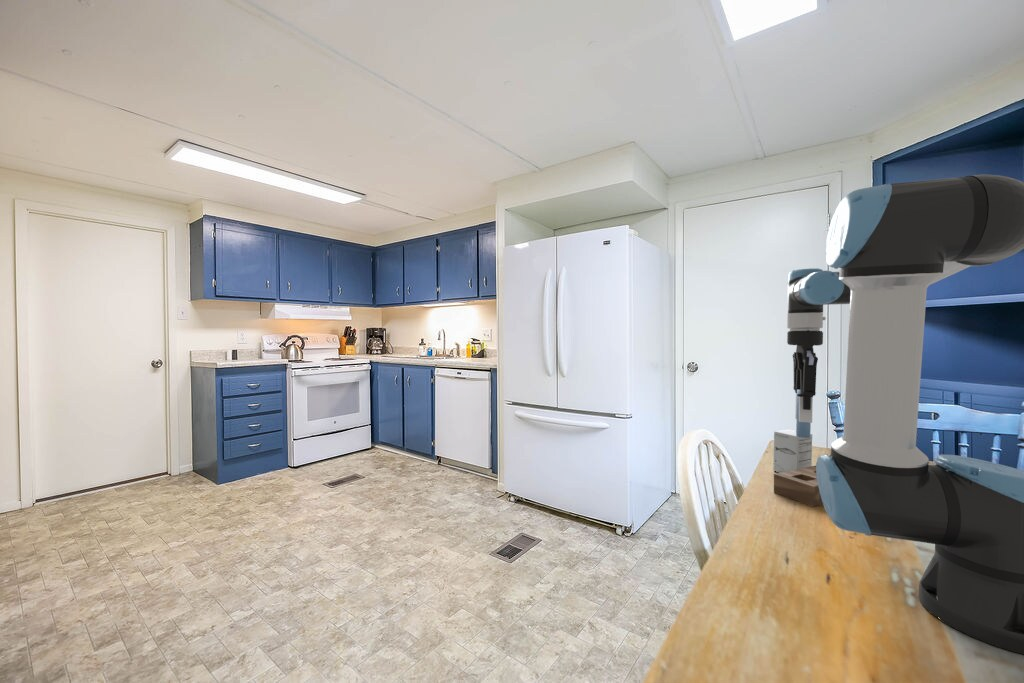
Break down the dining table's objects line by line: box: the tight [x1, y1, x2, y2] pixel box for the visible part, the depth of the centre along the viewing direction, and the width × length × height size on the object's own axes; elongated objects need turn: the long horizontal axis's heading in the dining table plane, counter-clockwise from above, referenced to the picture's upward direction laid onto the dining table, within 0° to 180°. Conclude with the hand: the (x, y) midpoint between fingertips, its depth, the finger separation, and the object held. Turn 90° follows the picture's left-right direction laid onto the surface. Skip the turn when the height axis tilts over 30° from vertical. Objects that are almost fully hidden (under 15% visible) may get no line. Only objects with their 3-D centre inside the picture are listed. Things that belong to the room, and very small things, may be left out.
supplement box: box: [772, 428, 813, 473], centre depth 127 cm, size 7×7×13 cm
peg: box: [795, 389, 812, 438], centre depth 108 cm, size 3×3×12 cm
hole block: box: [773, 465, 823, 508], centre depth 111 cm, size 18×10×5 cm, turn 113°
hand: (803, 420), depth 108 cm, fingers closed on peg, 3 cm apart
